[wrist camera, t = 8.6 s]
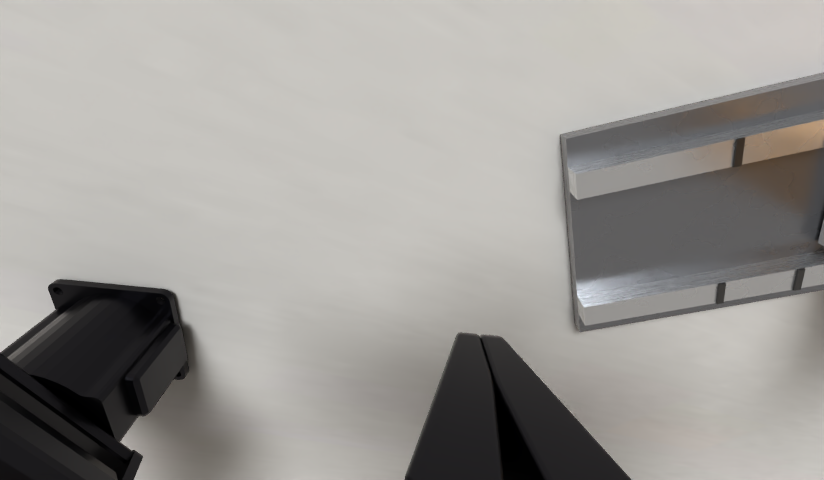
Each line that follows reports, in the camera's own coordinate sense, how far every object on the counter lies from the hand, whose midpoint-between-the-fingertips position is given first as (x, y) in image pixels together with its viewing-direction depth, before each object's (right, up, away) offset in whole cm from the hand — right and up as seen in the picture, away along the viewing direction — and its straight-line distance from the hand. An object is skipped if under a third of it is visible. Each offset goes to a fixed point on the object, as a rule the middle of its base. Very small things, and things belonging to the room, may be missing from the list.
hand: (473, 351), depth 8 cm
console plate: (+16, +4, +12) cm, 21 cm away
